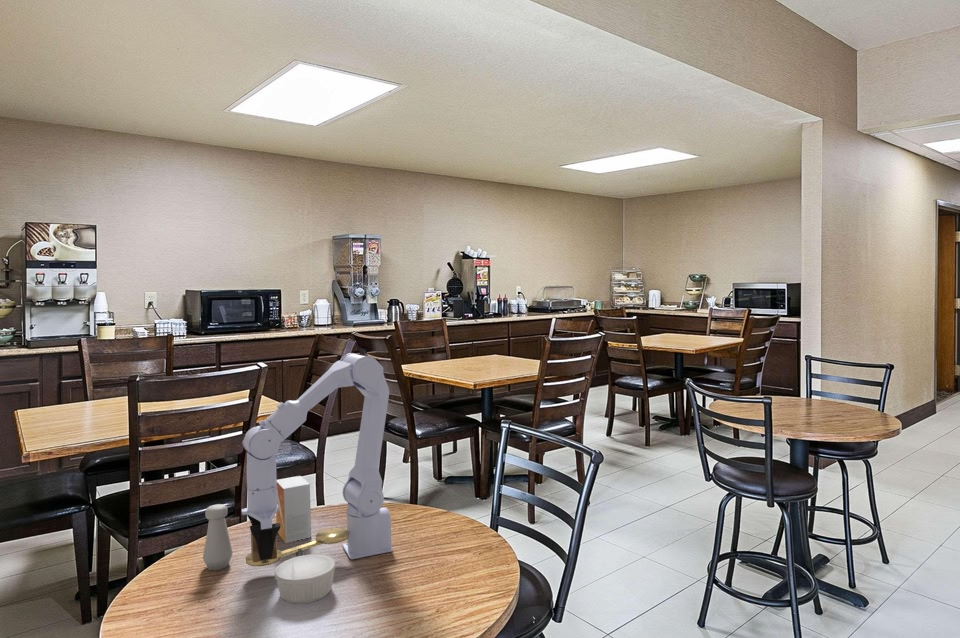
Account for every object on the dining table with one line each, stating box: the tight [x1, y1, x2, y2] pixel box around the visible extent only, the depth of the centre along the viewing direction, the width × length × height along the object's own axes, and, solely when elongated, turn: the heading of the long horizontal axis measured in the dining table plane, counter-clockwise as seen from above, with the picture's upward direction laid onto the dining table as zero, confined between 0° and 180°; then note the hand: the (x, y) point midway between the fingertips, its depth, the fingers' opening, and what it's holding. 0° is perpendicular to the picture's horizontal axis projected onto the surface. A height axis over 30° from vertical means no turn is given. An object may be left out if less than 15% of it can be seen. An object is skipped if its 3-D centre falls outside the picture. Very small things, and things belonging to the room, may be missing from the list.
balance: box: [245, 527, 349, 567], centre depth 128 cm, size 21×7×6 cm, turn 115°
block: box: [250, 531, 278, 562], centre depth 125 cm, size 4×4×5 cm
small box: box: [275, 475, 312, 544], centre depth 146 cm, size 8×6×13 cm
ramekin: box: [274, 554, 336, 605], centre depth 118 cm, size 11×11×5 cm
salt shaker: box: [202, 503, 233, 571], centre depth 130 cm, size 6×6×13 cm
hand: (263, 551), depth 125 cm, fingers open, 7 cm apart
